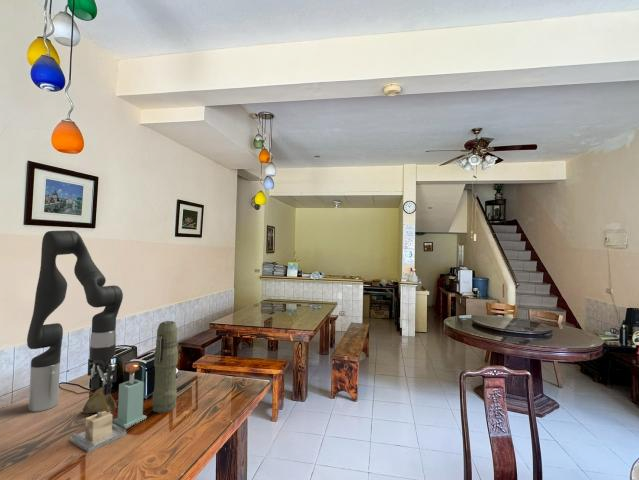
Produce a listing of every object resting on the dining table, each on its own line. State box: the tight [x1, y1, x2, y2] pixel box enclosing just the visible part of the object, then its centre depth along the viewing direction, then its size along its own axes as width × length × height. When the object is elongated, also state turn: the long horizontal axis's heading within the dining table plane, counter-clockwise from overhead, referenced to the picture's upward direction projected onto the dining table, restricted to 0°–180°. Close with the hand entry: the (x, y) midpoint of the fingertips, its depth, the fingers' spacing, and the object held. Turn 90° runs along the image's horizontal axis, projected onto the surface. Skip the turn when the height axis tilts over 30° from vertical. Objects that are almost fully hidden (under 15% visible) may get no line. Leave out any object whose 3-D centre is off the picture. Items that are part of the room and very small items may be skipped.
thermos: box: [151, 320, 179, 414], centre depth 134 cm, size 9×12×35 cm
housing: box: [85, 411, 113, 440], centre depth 112 cm, size 5×6×7 cm
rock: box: [82, 387, 118, 414], centre depth 130 cm, size 11×9×10 cm
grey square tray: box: [69, 422, 127, 453], centre depth 111 cm, size 12×12×2 cm
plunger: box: [125, 362, 140, 386], centre depth 123 cm, size 4×4×13 cm
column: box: [112, 378, 147, 429], centre depth 123 cm, size 8×8×14 cm
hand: (100, 391), depth 112 cm, fingers open, 7 cm apart
